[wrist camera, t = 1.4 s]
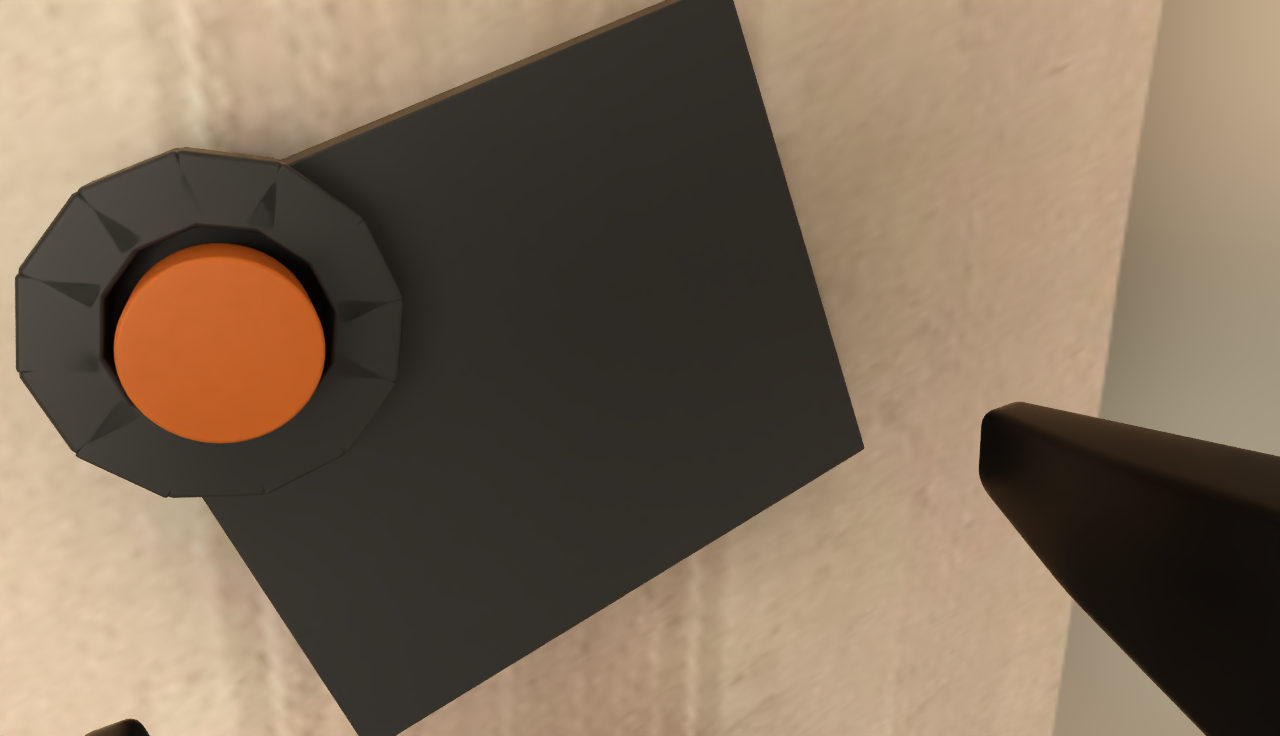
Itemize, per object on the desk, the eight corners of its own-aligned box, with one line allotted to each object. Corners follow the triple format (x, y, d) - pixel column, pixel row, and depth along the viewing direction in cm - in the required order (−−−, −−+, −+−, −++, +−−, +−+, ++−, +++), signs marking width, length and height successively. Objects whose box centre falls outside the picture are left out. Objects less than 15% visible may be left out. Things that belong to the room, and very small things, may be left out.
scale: (320, 726, 22) (336, 827, 19) (-20, 224, 17) (-74, 249, 13) (823, 426, 26) (906, 469, 22) (673, -53, 20) (754, -82, 17)
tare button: (184, 442, 16) (181, 478, 14) (85, 289, 15) (70, 310, 13) (345, 364, 17) (357, 390, 15) (263, 213, 16) (268, 224, 14)
